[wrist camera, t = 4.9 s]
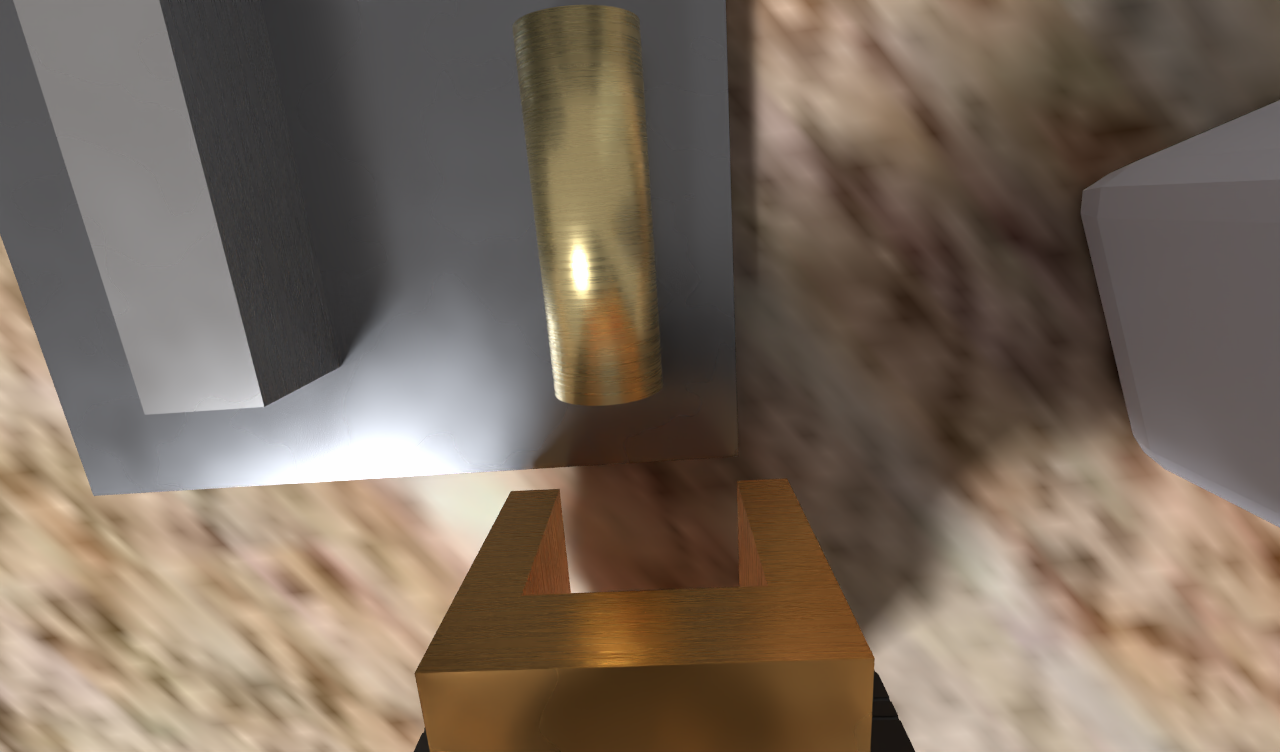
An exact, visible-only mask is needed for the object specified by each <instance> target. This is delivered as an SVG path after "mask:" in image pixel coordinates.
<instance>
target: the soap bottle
mask: <svg viewBox="0 0 1280 752" xmlns="http://www.w3.org/2000/svg"><path fill="white" fill-rule="evenodd" d="M1081 217H1082V222H1083V226H1084V230H1085V234H1086V238H1087V243H1088V247H1089V251H1090V255H1091V260H1092V264H1093V268H1094V272H1095V276H1096V281H1097V285H1098V289H1099V293H1100V297H1101V302H1102V306H1103V310H1104V314H1105V319H1106V323H1107V327H1108V331H1109V335H1110V340H1111V344H1112V348H1113V352H1114V357H1115V361H1116V365H1117V369H1118V373H1119V378H1120V382H1121V386H1122V390H1123V395H1124V399H1125V403H1126V407H1127V411H1128V416H1129V420H1130V424H1131V428H1132V432H1133V436H1134V437H1135V439H1136V440H1137V442H1138V443H1139V445H1140V447H1141V448H1142V450H1143V451H1144V452H1145V453H1146V454H1147V455H1148V456H1149V457H1151V458H1152V459H1153V460H1154V461H1156V462H1157V463H1158V464H1159V465H1161V466H1162V467H1163V468H1164V469H1166V470H1168V471H1170V472H1172V473H1174V474H1176V475H1178V476H1180V477H1182V478H1184V479H1185V480H1187V481H1189V482H1191V483H1193V484H1195V485H1197V486H1199V487H1201V488H1203V489H1205V490H1207V491H1209V492H1211V493H1213V494H1215V495H1217V496H1219V497H1221V498H1223V499H1225V500H1227V501H1229V502H1231V503H1233V504H1235V505H1237V506H1239V507H1241V508H1243V509H1245V510H1247V511H1249V512H1251V513H1252V514H1254V515H1256V516H1258V517H1260V518H1262V519H1264V520H1266V521H1268V522H1270V523H1272V524H1274V525H1276V526H1278V527H1280V100H1279V101H1276V102H1274V103H1272V104H1269V105H1267V106H1265V107H1262V108H1260V109H1258V110H1255V111H1253V112H1251V113H1248V114H1246V115H1243V116H1241V117H1239V118H1236V119H1234V120H1232V121H1229V122H1227V123H1225V124H1222V125H1220V126H1218V127H1215V128H1213V129H1211V130H1208V131H1206V132H1204V133H1201V134H1199V135H1197V136H1194V137H1192V138H1189V139H1187V140H1185V141H1182V142H1180V143H1178V144H1175V145H1173V146H1171V147H1168V148H1166V149H1164V150H1161V151H1159V152H1157V153H1154V154H1152V155H1150V156H1147V157H1145V158H1143V159H1140V160H1138V161H1136V162H1133V163H1131V164H1129V165H1127V166H1125V167H1122V168H1120V169H1118V170H1116V171H1113V172H1111V173H1109V174H1108V175H1106V176H1105V177H1103V178H1101V179H1100V180H1098V181H1097V182H1095V183H1094V184H1092V185H1091V186H1089V187H1087V188H1086V189H1084V190H1083V195H1082V205H1081Z"/></svg>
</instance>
